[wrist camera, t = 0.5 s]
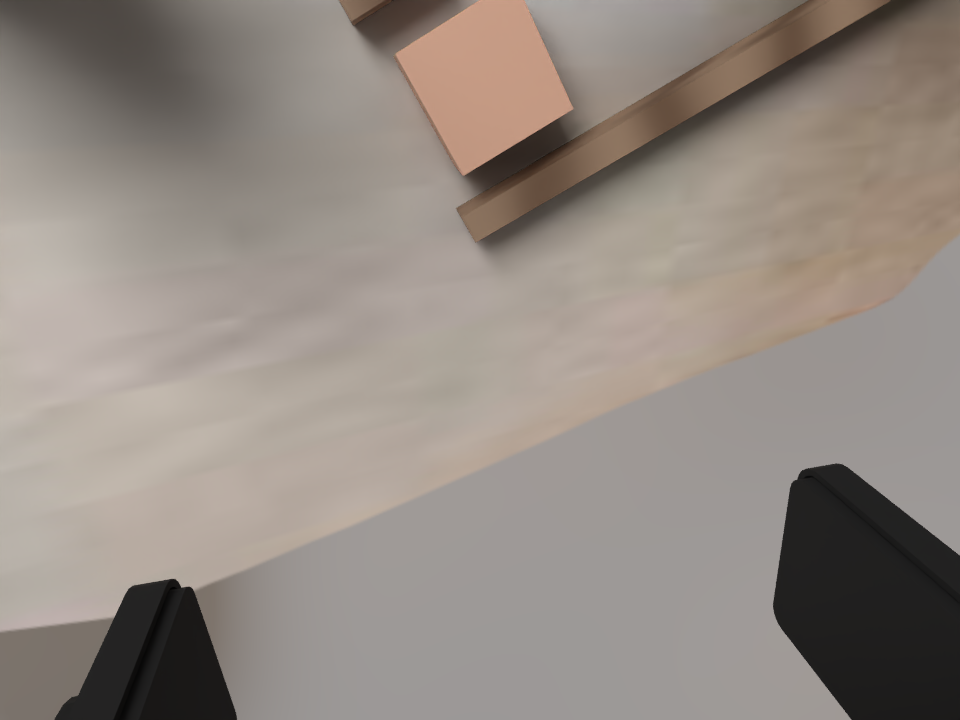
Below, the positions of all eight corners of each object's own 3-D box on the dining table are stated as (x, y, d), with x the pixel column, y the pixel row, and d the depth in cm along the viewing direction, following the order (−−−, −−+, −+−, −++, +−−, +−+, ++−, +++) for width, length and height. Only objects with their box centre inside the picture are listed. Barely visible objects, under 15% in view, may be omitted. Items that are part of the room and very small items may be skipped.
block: (498, -11, 31) (514, -22, 27) (552, 105, 33) (573, 108, 30) (393, 56, 31) (395, 53, 28) (454, 165, 34) (463, 176, 30)
